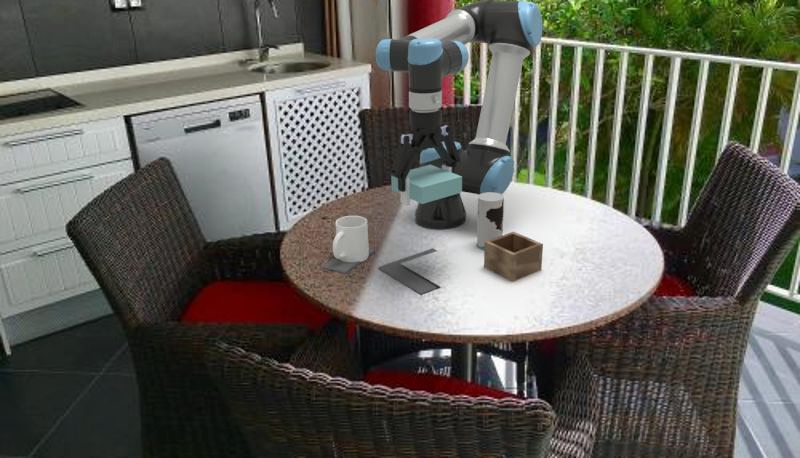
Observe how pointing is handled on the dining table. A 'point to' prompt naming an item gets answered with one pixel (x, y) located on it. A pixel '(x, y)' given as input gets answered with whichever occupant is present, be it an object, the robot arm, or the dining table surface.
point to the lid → (430, 184)
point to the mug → (351, 239)
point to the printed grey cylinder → (489, 217)
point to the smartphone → (343, 264)
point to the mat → (410, 274)
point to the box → (513, 256)
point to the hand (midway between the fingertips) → (426, 197)
